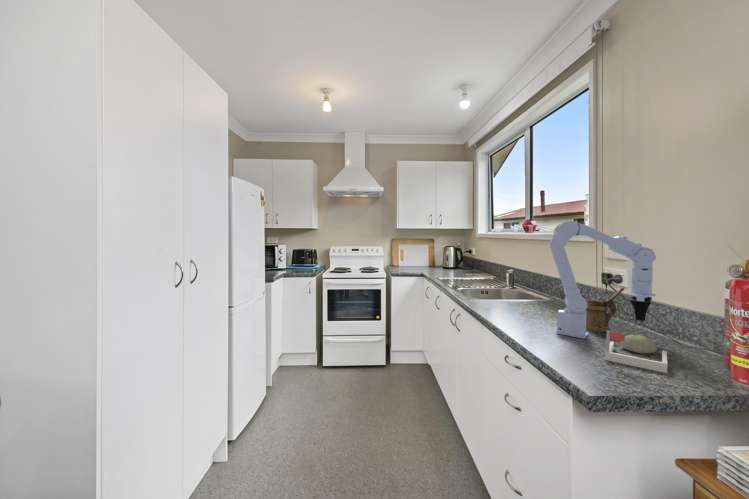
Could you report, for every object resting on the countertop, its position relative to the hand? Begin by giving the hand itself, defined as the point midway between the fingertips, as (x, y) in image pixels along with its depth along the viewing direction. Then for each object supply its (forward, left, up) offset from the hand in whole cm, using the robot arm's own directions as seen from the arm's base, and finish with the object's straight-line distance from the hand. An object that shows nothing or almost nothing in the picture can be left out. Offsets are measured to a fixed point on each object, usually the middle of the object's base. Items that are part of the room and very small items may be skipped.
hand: (640, 318), depth 114 cm
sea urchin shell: (0, -11, -9) cm, 14 cm away
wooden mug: (-12, +8, -9) cm, 17 cm away
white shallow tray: (0, -22, -9) cm, 24 cm away
